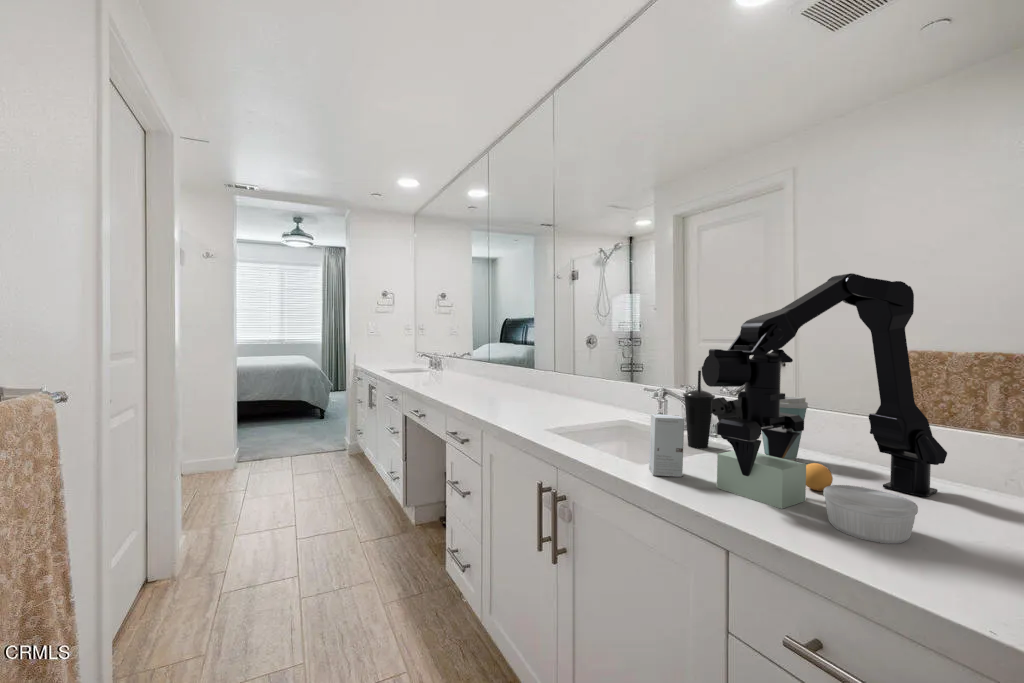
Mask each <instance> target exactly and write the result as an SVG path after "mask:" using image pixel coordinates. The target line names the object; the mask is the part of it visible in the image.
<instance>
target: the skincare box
mask: <svg viewBox="0 0 1024 683" xmlns="http://www.w3.org/2000/svg"><path fill="white" fill-rule="evenodd" d="M649 429H650V431H649V457H648V458H649V461H648V463H649V464H648V470H649V472H650V473H651V475H652V476H653V477H654V476H655V477H656V476H661V477H676V478H677V477H678V478H680V477H681V478H682V477H683V470H684V469H683V468H684V466H683V465H684V440H685V439H684V437H685V436H684V435H685V418H684V417H682V416H680V415H677V414H658V413H657V414H656V413H650V428H649Z"/></svg>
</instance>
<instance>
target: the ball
mask: <svg viewBox="0 0 1024 683" xmlns="http://www.w3.org/2000/svg"><path fill="white" fill-rule="evenodd" d="M833 479H834V478H833V474H832V472H831V471H830V470H829V468H828V467H827V466H825V465H823V464H822V463H817V462H812V463H808V464H806V487H807V488H809V489H811V490H813V491H819V492H820V491H824V488H825V487H827V486H831V485H833Z"/></svg>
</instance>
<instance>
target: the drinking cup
mask: <svg viewBox="0 0 1024 683" xmlns="http://www.w3.org/2000/svg"><path fill="white" fill-rule="evenodd" d="M701 378H702V370H698V371H697V389H693V390H690V391H687V392H686V393H683V396H684V406H685V407H684V408H685V424H686V436H687V446H688V447H689V448H693V449H699V450H701V449H702V450H704V449H708V447H709V441H710V432H711V431H710V430H711V424H712V418H713V417H712V416H713V414H712V413H711V404H712V399H716V396H715V394H712V393H710V392H708V391H705V390H702V389H701V387H702V384H701V382H702V381H701V380H702V379H701Z"/></svg>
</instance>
